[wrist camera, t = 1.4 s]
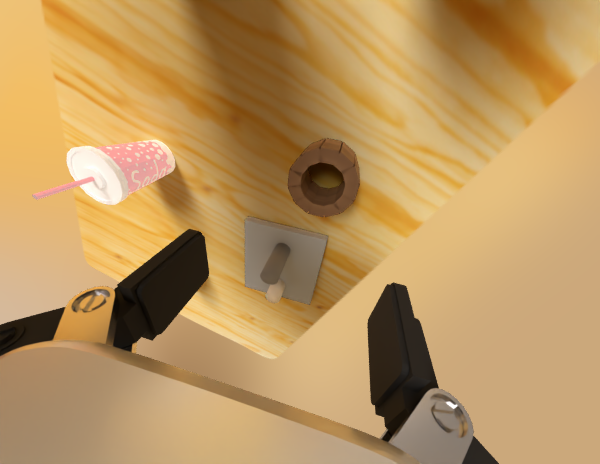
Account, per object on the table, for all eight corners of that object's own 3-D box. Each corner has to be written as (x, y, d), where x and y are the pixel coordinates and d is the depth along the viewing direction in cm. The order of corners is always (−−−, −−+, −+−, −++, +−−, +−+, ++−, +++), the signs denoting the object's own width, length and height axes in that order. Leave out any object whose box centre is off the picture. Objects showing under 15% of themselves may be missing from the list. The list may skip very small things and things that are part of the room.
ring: (303, 133, 24) (292, 141, 20) (366, 145, 23) (368, 156, 19) (295, 191, 28) (285, 208, 24) (349, 203, 27) (347, 222, 23)
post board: (248, 216, 32) (223, 244, 26) (328, 235, 30) (321, 269, 24) (247, 281, 39) (228, 314, 34) (311, 299, 38) (302, 336, 32)
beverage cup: (168, 187, 32) (62, 238, 21) (133, 153, 30) (-5, 188, 19) (188, 161, 29) (77, 205, 18) (150, 122, 27) (-1, 142, 16)
